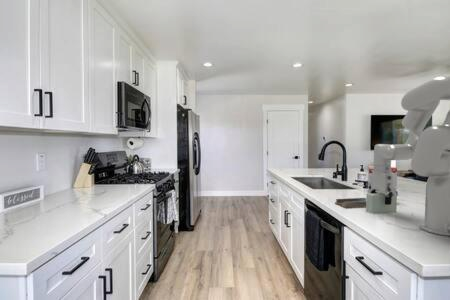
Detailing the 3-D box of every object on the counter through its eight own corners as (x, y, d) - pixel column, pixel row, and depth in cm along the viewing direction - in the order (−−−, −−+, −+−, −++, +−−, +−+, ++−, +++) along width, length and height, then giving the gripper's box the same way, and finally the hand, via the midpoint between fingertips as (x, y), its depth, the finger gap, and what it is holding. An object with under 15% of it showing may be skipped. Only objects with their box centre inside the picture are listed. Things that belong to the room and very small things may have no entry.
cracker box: (367, 201, 149) (368, 166, 148) (367, 199, 155) (368, 165, 154) (396, 204, 143) (397, 167, 142) (394, 202, 148) (395, 166, 147)
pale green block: (396, 212, 129) (396, 194, 128) (371, 213, 126) (372, 195, 126) (390, 210, 133) (390, 192, 132) (366, 211, 130) (366, 193, 130)
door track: (376, 207, 138) (376, 201, 138) (346, 208, 135) (346, 202, 135) (363, 202, 148) (363, 197, 148) (334, 203, 145) (335, 198, 145)
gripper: (403, 170, 121) (401, 206, 122) (375, 166, 138) (374, 197, 139) (389, 171, 120) (387, 207, 121) (363, 166, 137) (361, 197, 138)
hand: (380, 201), depth 130 cm, fingers open, 9 cm apart
